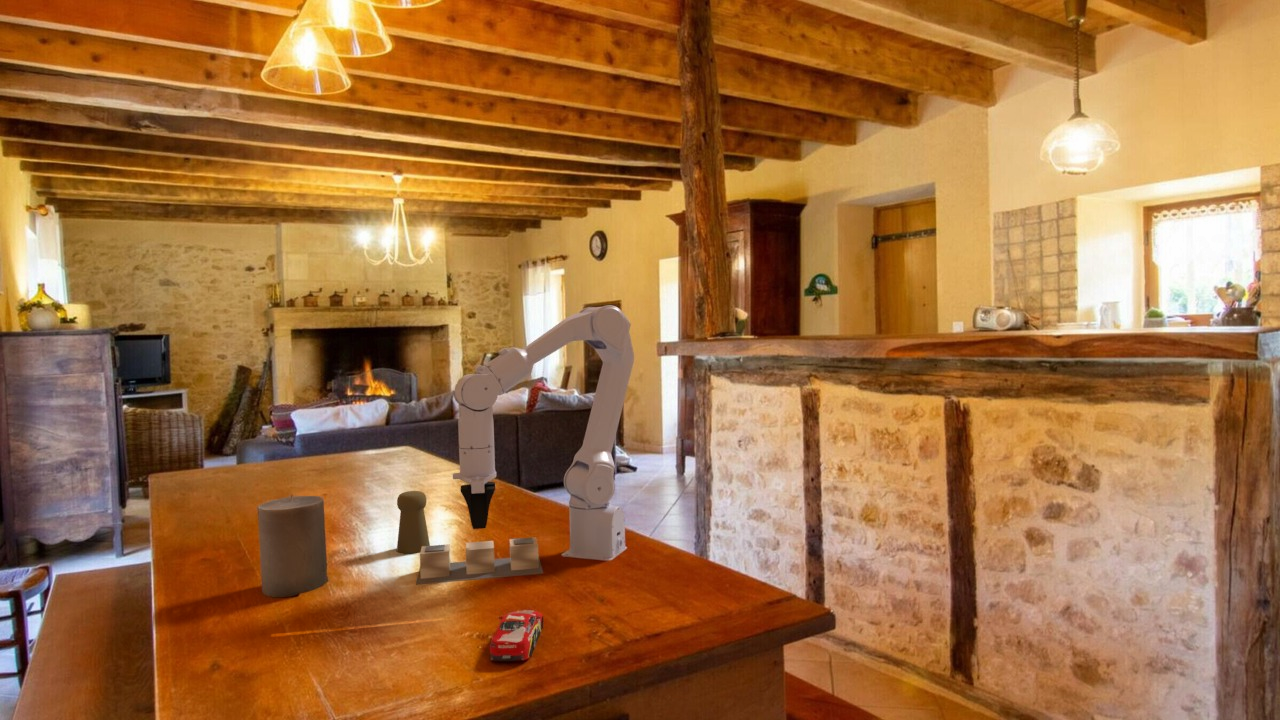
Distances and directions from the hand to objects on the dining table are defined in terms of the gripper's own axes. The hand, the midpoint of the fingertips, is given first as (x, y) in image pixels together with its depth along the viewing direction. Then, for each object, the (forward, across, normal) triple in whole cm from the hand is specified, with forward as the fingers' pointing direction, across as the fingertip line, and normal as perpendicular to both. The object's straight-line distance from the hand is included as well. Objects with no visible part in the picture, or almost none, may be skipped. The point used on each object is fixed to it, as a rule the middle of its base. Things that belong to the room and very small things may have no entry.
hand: (479, 527), depth 126 cm
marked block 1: (+7, 0, -7) cm, 10 cm away
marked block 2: (+7, 0, +7) cm, 10 cm away
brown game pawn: (+8, -16, -12) cm, 21 cm away
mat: (+7, 0, 0) cm, 7 cm away
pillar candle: (+8, 0, -29) cm, 30 cm away
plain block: (+7, 0, 0) cm, 7 cm away
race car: (+8, +31, +4) cm, 32 cm away
